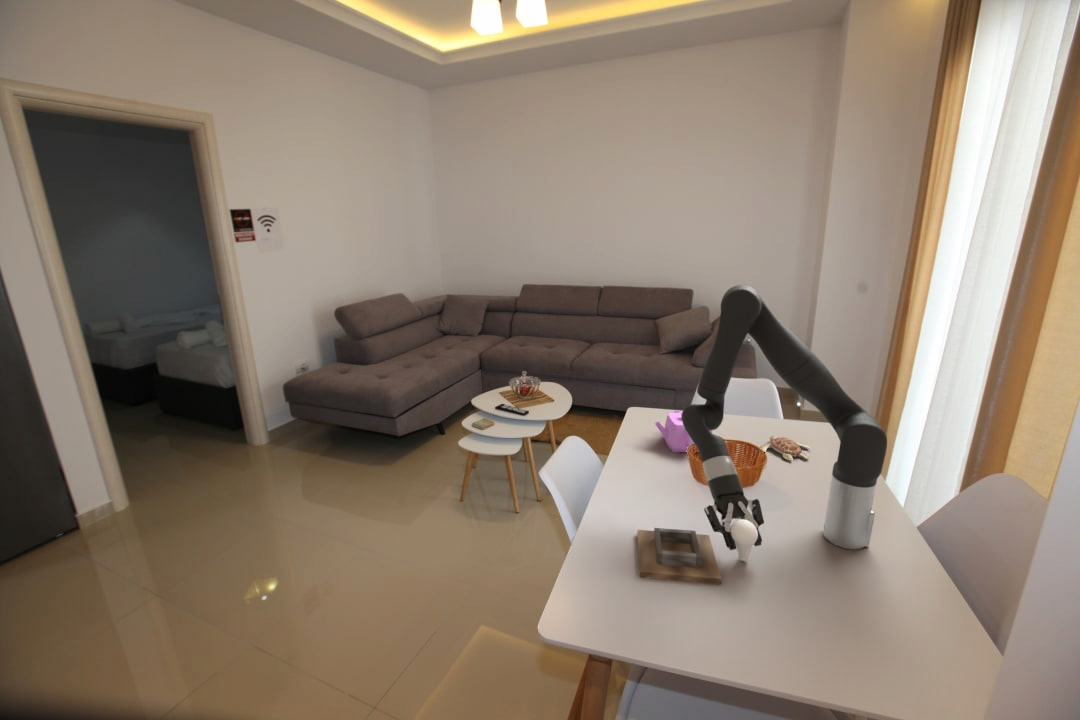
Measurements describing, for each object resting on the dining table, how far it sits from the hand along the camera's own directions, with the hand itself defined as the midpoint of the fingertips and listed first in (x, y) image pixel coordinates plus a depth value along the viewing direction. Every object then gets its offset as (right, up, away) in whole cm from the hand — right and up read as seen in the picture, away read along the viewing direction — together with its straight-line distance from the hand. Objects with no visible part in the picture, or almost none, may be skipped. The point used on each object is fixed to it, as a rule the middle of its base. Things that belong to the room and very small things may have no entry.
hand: (745, 547), depth 113 cm
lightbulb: (+1, -4, +3) cm, 5 cm away
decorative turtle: (+38, +11, +57) cm, 70 cm away
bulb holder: (-15, -4, +4) cm, 16 cm away
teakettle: (+4, +13, +65) cm, 66 cm away
